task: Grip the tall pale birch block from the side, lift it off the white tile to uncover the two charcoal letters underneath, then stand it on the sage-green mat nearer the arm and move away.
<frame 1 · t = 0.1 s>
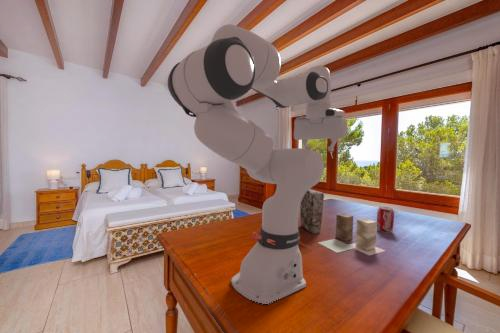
hand: (318, 151, 80), 39 cm above the table, tool pointing down, fingers open, 8 cm apart
soda can: (384, 232, 105), on the table
sage mat: (335, 247, 86), on the table
stone block: (309, 229, 106), on the table
code tile: (365, 249, 84), on the table
birch block: (365, 247, 84), point 1 cm above the table, touching code tile
walnut block: (343, 239, 94), on the table
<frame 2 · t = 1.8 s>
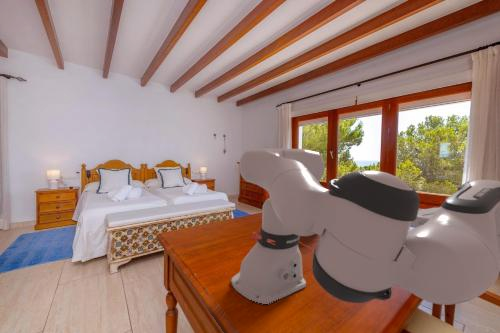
hand: (402, 211, 72), 18 cm above the table, tool horizontal, fingers open, 8 cm apart
nothing on the table moved.
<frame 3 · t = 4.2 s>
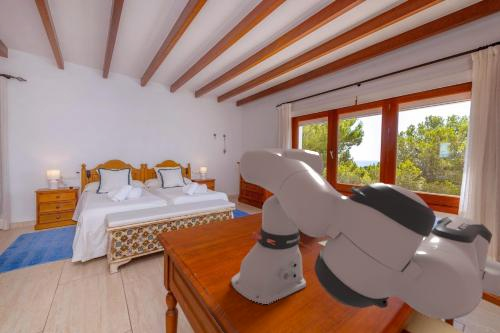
hand: (386, 239, 77), 7 cm above the table, tool horizontal, fingers open, 8 cm apart
nothing on the table moved.
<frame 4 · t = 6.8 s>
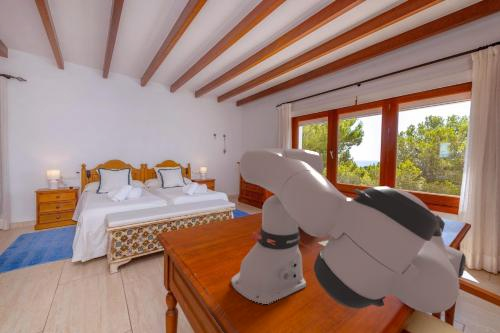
hand: (364, 231, 85), 7 cm above the table, tool horizontal, fingers closed on birch block, 5 cm apart
birch block: (365, 247, 84), point 1 cm above the table, touching code tile, gripper
everything else where it was.
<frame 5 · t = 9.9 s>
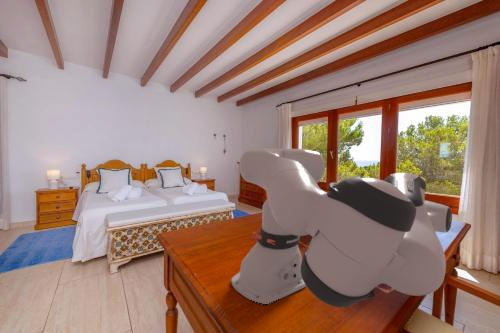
hand: (354, 200, 85), 20 cm above the table, tool horizontal, fingers closed on birch block, 5 cm apart
birch block: (355, 216, 84), point 13 cm above the table, touching gripper
everything else where it was.
when the fingers open (8 cm above the table, at t = 13.2 s): birch block stays where it is, resting on sage mat.
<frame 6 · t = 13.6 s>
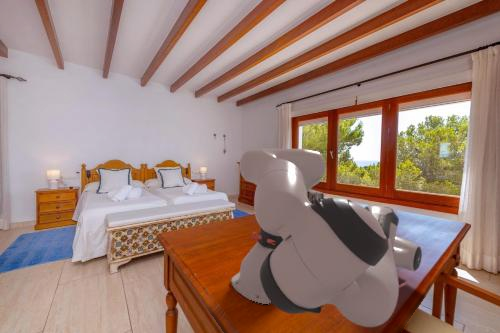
hand: (334, 227, 86), 8 cm above the table, tool horizontal, fingers open, 8 cm apart
birch block: (335, 245, 86), point 1 cm above the table, touching sage mat
everything else where it was.
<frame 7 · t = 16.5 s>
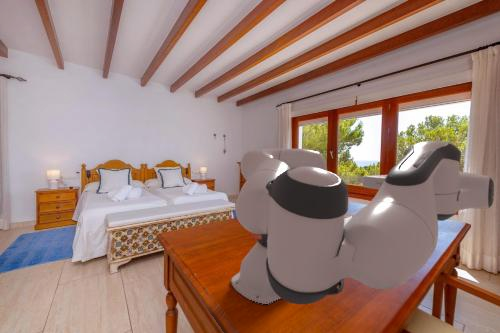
hand: (367, 178, 74), 29 cm above the table, tool horizontal, fingers open, 8 cm apart
nothing on the table moved.
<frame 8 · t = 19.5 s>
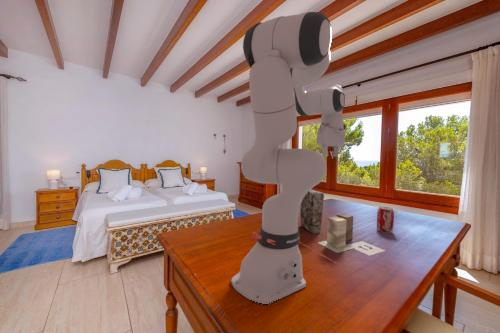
hand: (330, 156, 92), 37 cm above the table, tool pointing down, fingers open, 8 cm apart
nothing on the table moved.
at the end: birch block inside the target area (0.1 cm from its centre), point 0.8 cm above the table; birch block tilted 0°; birch block touching sage mat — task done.
